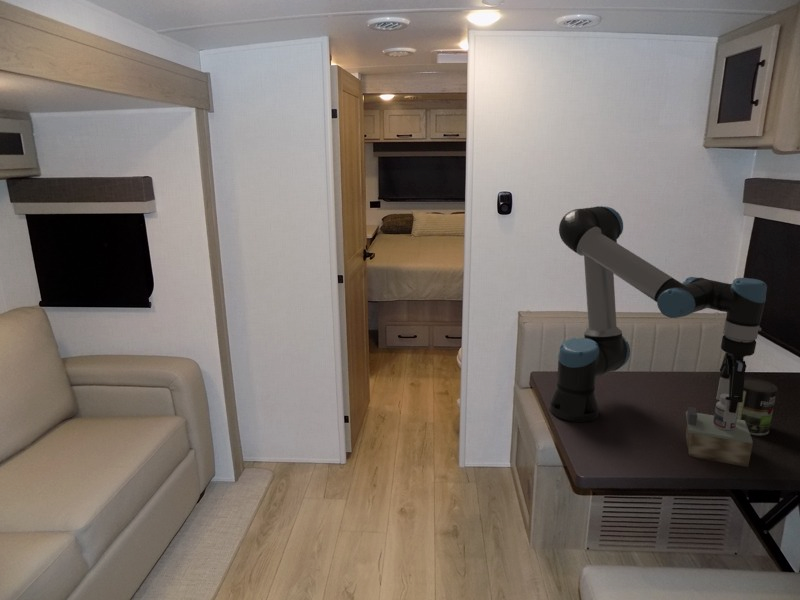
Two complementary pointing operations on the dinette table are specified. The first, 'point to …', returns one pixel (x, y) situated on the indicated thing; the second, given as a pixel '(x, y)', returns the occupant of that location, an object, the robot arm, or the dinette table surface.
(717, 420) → the pill bottle
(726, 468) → the dinette table surface
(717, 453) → the box
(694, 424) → the lid
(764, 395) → the coffee can
